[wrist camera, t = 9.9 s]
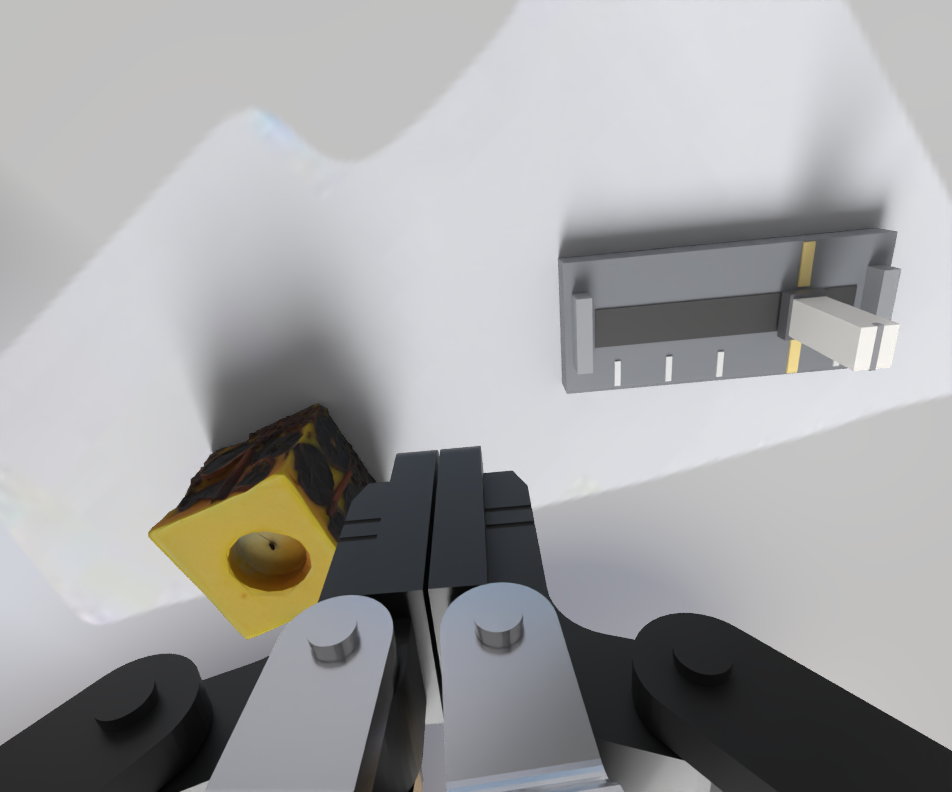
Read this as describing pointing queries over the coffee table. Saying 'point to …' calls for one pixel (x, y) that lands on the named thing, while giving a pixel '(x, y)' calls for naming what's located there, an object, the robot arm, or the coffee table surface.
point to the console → (710, 307)
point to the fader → (837, 329)
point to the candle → (266, 520)
